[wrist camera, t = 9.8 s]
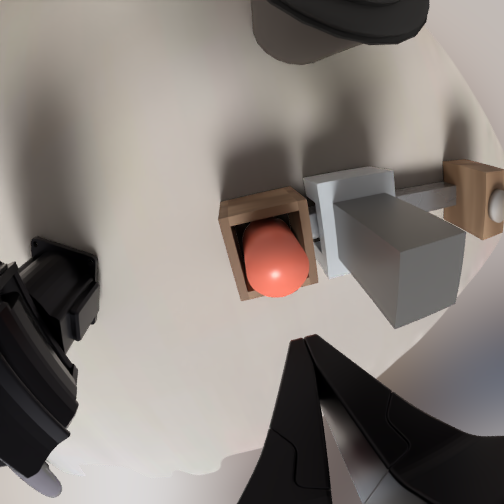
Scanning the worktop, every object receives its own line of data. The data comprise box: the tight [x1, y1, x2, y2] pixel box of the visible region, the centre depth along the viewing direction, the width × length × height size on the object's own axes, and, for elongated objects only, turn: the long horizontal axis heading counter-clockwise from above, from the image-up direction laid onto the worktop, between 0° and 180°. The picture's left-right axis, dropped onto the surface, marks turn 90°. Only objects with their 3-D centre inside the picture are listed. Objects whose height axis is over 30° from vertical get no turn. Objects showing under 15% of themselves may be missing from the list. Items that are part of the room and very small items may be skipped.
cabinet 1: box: [443, 159, 504, 240], centre depth 16 cm, size 3×5×6 cm, turn 13°
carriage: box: [303, 166, 466, 329], centre depth 14 cm, size 5×6×10 cm
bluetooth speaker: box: [9, 462, 62, 498], centre depth 32 cm, size 23×9×10 cm, turn 168°
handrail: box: [308, 181, 456, 239], centre depth 18 cm, size 13×2×2 cm, turn 102°
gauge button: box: [242, 216, 309, 297], centre depth 15 cm, size 3×3×4 cm
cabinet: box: [218, 186, 318, 301], centre depth 17 cm, size 5×5×4 cm
